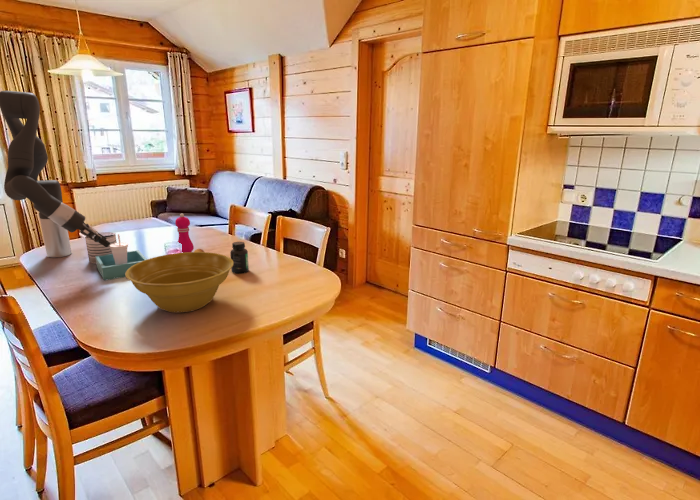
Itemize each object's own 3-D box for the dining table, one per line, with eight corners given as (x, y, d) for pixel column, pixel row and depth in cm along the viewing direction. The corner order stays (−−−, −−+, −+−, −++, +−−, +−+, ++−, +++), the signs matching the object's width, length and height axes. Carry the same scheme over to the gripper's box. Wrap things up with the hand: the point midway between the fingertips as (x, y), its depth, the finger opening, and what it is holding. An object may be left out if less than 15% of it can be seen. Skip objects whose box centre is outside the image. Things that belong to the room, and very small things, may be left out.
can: (82, 261, 178) (78, 234, 174) (106, 254, 188) (102, 229, 184) (101, 265, 174) (97, 237, 170) (125, 257, 184) (121, 231, 180)
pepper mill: (197, 255, 188) (194, 212, 183) (187, 260, 182) (182, 215, 176) (184, 254, 191) (180, 211, 185) (173, 258, 184) (169, 214, 178)
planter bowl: (126, 334, 116) (120, 289, 112) (133, 293, 144) (128, 256, 141) (243, 316, 129) (241, 275, 125) (228, 282, 157) (226, 248, 153)
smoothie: (123, 271, 164) (118, 236, 160) (109, 269, 165) (103, 235, 161) (134, 265, 170) (130, 232, 166) (120, 264, 171) (116, 231, 167)
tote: (97, 267, 170) (95, 256, 169) (139, 261, 179) (138, 250, 178) (104, 280, 156) (102, 267, 155) (149, 272, 166) (148, 260, 164)
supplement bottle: (252, 271, 169) (250, 243, 166) (237, 275, 164) (235, 246, 161) (242, 267, 174) (241, 239, 170) (228, 271, 169) (226, 242, 165)
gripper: (76, 212, 148) (116, 239, 157) (72, 206, 158) (110, 231, 168) (61, 229, 146) (103, 254, 156) (57, 221, 157) (97, 246, 167)
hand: (106, 242), depth 162 cm, fingers open, 8 cm apart
